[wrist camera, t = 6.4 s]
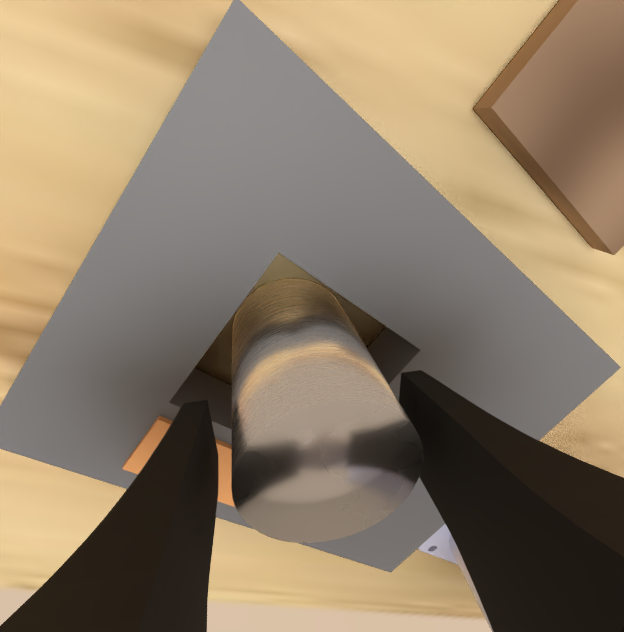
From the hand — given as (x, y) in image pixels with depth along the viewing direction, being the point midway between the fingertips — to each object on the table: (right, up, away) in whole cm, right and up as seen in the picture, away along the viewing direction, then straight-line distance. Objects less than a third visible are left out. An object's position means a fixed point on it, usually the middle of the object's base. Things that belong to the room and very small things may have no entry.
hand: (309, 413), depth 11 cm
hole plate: (+1, +1, +5) cm, 5 cm away
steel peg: (-1, +2, +4) cm, 5 cm away
